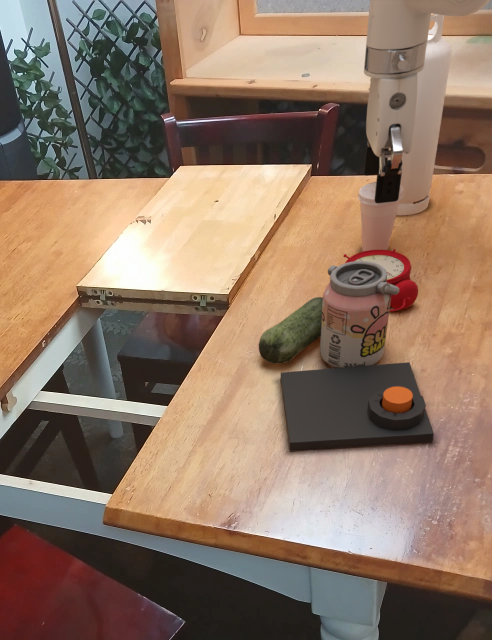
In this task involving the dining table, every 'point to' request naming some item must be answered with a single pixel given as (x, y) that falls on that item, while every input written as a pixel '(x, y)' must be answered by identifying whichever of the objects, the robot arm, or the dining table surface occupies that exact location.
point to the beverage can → (355, 314)
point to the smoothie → (376, 218)
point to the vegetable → (292, 333)
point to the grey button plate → (351, 408)
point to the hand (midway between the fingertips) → (380, 187)
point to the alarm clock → (392, 274)
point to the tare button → (397, 399)
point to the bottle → (426, 123)
